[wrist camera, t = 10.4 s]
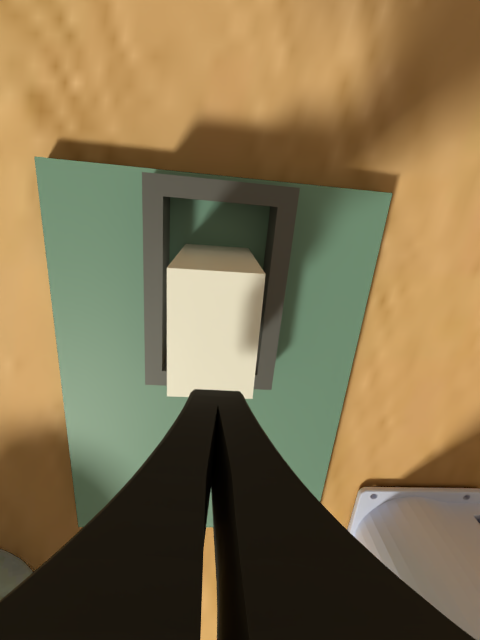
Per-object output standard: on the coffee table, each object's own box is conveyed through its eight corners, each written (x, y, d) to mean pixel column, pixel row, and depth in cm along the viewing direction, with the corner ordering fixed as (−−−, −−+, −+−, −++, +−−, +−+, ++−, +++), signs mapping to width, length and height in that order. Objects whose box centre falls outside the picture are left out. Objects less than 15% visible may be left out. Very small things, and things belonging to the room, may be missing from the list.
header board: (382, 193, 16) (417, 191, 13) (310, 514, 23) (322, 556, 21) (46, 159, 14) (4, 149, 12) (84, 512, 22) (64, 558, 19)
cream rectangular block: (248, 248, 15) (265, 274, 10) (240, 347, 17) (250, 417, 12) (185, 243, 15) (166, 267, 10) (183, 344, 17) (167, 415, 11)
